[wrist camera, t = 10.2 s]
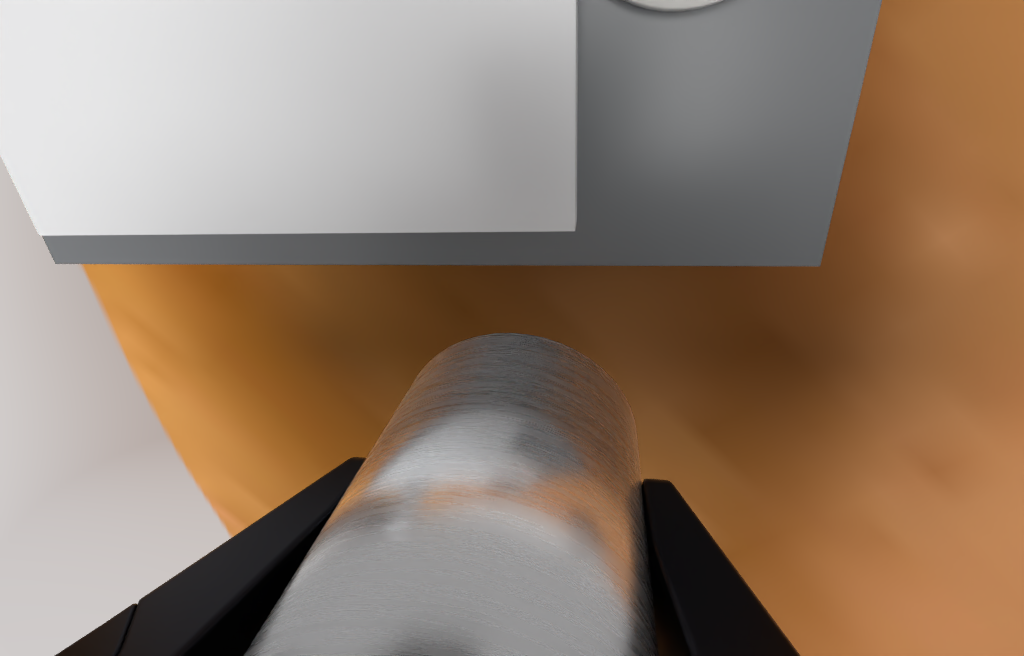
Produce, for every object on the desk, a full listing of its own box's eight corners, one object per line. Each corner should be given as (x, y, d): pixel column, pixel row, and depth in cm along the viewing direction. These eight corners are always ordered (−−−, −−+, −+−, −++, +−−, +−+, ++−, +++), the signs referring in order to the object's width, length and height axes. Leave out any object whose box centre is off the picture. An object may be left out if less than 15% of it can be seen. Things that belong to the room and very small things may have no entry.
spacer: (630, 530, 10) (662, 1053, 5) (421, 511, 11) (242, 944, 5) (644, 336, 8) (730, 853, 3) (388, 329, 9) (54, 725, 3)
